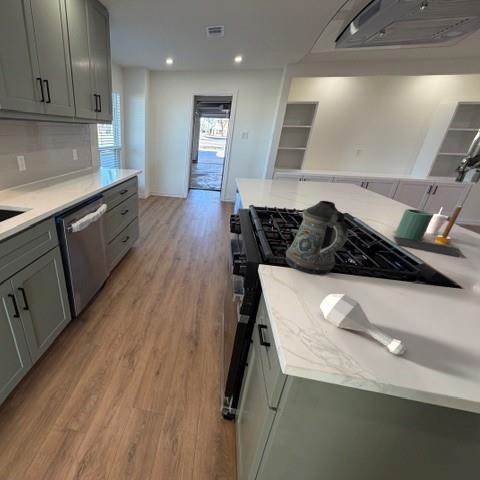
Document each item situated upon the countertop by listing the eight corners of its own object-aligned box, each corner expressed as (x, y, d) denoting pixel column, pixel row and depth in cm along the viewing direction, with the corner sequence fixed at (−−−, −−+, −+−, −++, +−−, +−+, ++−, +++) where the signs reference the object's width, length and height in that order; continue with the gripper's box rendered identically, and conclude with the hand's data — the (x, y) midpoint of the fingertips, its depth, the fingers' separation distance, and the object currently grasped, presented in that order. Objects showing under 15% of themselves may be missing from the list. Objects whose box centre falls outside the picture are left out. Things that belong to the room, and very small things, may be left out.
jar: (419, 236, 129) (430, 211, 124) (423, 242, 121) (435, 216, 116) (394, 231, 134) (404, 207, 129) (396, 237, 127) (407, 212, 122)
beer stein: (298, 251, 109) (314, 194, 99) (349, 271, 94) (373, 206, 84) (275, 261, 100) (290, 199, 90) (327, 284, 85) (351, 213, 75)
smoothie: (419, 230, 137) (431, 205, 131) (433, 231, 136) (445, 206, 130) (428, 234, 131) (441, 208, 125) (443, 235, 130) (456, 209, 124)
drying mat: (450, 247, 116) (451, 246, 116) (458, 257, 107) (459, 256, 107) (394, 237, 126) (394, 236, 126) (397, 245, 117) (397, 244, 117)
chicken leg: (390, 368, 56) (417, 340, 54) (312, 312, 67) (331, 287, 65) (391, 360, 62) (415, 334, 60) (319, 310, 73) (337, 287, 71)
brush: (446, 242, 122) (465, 206, 115) (449, 245, 118) (469, 208, 111) (433, 239, 125) (450, 204, 117) (435, 242, 121) (453, 206, 114)
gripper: (482, 144, 104) (463, 184, 110) (510, 144, 105) (489, 183, 112) (460, 143, 110) (443, 180, 117) (487, 143, 112) (468, 180, 119)
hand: (466, 182), depth 114 cm, fingers open, 8 cm apart
